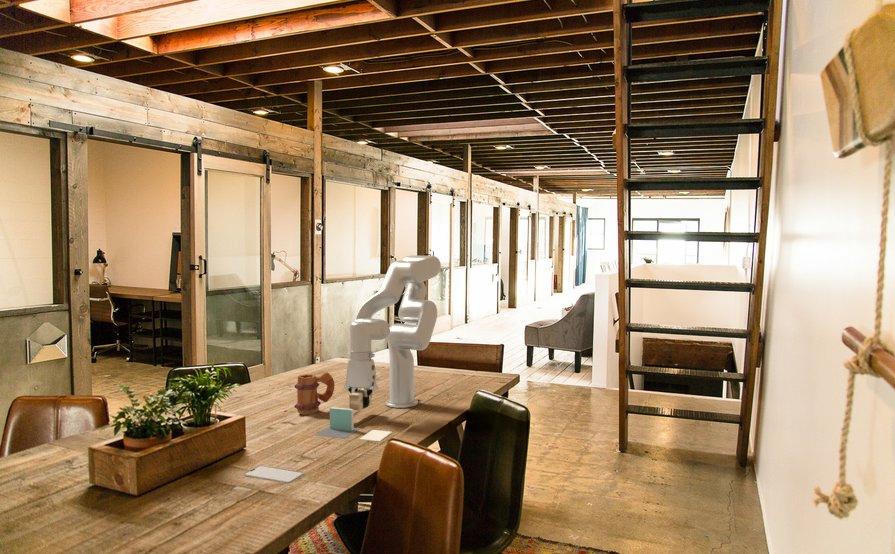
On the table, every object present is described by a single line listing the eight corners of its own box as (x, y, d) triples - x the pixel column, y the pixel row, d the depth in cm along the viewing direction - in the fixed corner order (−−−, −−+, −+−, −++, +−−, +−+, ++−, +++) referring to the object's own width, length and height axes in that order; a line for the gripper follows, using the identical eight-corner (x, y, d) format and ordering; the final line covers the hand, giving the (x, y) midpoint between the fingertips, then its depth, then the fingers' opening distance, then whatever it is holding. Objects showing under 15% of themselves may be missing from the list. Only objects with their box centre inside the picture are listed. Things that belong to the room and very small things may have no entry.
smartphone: (288, 482, 160) (242, 474, 165) (288, 485, 160) (242, 476, 165) (305, 472, 167) (260, 465, 172) (305, 475, 167) (260, 467, 172)
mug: (294, 417, 222) (294, 376, 221) (294, 411, 229) (293, 372, 229) (335, 414, 225) (335, 374, 225) (333, 409, 233) (333, 370, 233)
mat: (332, 426, 210) (332, 424, 210) (361, 429, 207) (361, 427, 207) (314, 436, 199) (314, 435, 199) (344, 440, 195) (344, 438, 195)
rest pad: (372, 432, 204) (372, 429, 204) (392, 434, 202) (392, 431, 202) (359, 441, 194) (359, 438, 194) (379, 443, 192) (379, 440, 192)
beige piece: (361, 403, 225) (361, 387, 225) (374, 404, 224) (374, 388, 224) (340, 414, 210) (340, 397, 210) (354, 416, 208) (353, 398, 208)
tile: (332, 427, 207) (331, 407, 207) (353, 429, 205) (353, 409, 204) (329, 428, 206) (329, 408, 205) (351, 431, 203) (351, 410, 203)
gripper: (386, 355, 219) (386, 406, 220) (344, 353, 224) (345, 402, 225) (377, 359, 212) (377, 411, 213) (335, 356, 217) (335, 407, 218)
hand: (361, 406), depth 219 cm, fingers closed on beige piece, 3 cm apart
